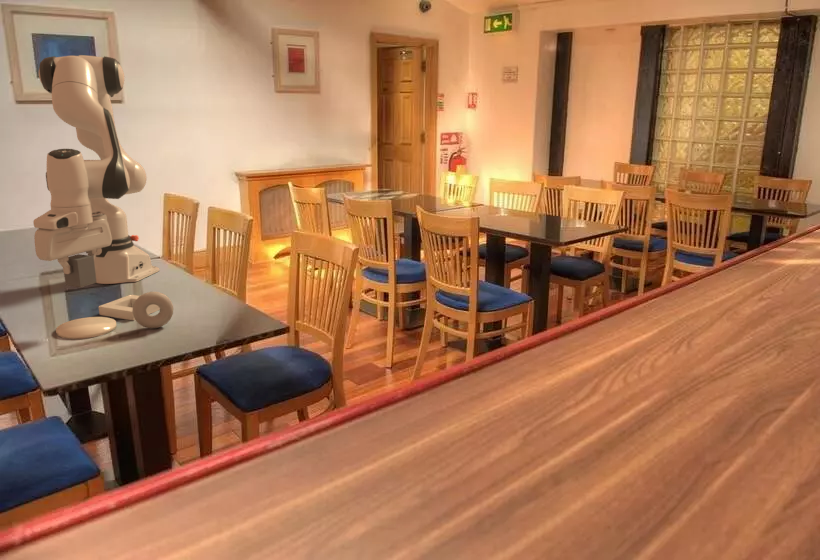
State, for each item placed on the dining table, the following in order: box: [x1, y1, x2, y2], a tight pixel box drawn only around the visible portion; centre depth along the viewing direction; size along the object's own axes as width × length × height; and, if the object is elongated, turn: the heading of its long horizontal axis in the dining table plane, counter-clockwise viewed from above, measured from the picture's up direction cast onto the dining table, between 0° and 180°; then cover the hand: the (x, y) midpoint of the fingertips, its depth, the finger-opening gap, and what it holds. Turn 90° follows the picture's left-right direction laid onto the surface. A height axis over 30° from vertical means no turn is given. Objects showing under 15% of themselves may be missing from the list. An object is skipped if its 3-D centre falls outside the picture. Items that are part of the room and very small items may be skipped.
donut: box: [132, 291, 174, 329], centre depth 166 cm, size 10×4×10 cm, turn 114°
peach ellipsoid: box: [55, 316, 117, 340], centre depth 165 cm, size 14×14×1 cm
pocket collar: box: [98, 294, 160, 321], centre depth 180 cm, size 12×12×2 cm
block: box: [63, 253, 98, 289], centre depth 161 cm, size 5×5×7 cm
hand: (79, 270), depth 161 cm, fingers closed on block, 5 cm apart
